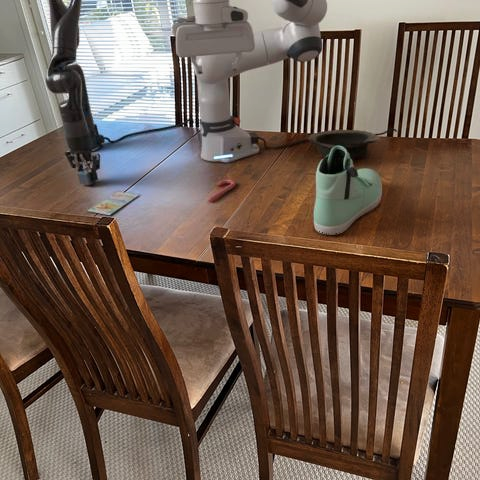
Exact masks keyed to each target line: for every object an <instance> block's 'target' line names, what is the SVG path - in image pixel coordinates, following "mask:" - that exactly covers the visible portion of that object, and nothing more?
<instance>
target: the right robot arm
mask: <svg viewBox="0 0 480 480" xmlns="http://www.w3.org/2000/svg"><path fill="white" fill-rule="evenodd" d="M192 2H193V12H194V15H193V16H192V15H191V16H186V17H182V16H181V17H177V18H176V19H174V20H173V21H172V23H171V31H172V35H173V37H174V38H175V52H176V53H175V54H176V55H177V56H178V57H179V58H181V59H182V58H190V62H191V63H192V64H193V72H194V75H195V76H196V80H197V81H196V83H197V84H196V85H197V98H198V99H197V100H198V108H199V117H200V119H199V131H200V135H201V148H200V149H201V151H200V158H201V159H202V160H204V161H208V162H221V163H231V162H235V161H237V160H240V159H243V158H246V157H249V156H252V155H255V154H258V153H260V147H259V145H257V144H259V142H260V140H261V141H262V142H263V146H264V148H265V149H267V150H272V149H273V150H274V149H275V150H276V149H283V148H285V147H291V146H295V145H297V144H300V143H303V142H309V141H308V138H305V139H301V140H298V141H294V142H292V143H288V144H283V145H280V146H276V147H268V146H267V142H266V139H264V138H263V137H261V136H258V134H257V133H256V131H255V132H247V131H246V130H244V129H243V128H241V127H240V126H238V125H240V124H241V119H240V118H238V117H235V116H233V115H231V103H230V91H229V79H230V78H233V77H235V76H238V75H240V74H243V73H245V72H248V71H251V70H256V69H259V68H263V67H266V66H271V65H273V64H276V63H277V64H278V62H279V63H280V62H282V61H284V60H286V59H291V60H293V61H296V62H299V63H305V62H310V61H312V60H314V59H316V58H318V57H319V56H320V54H321V53H322V52H323V39H322V37H321V28H320V23H321V22H322V21H323V20H324V18H325V17H326V14H327V11H328V2H327V0H271V5H272V9H273V12H274V13H275V14H276V15H277V16H278V17H279V18H281V23H282V24H281V26H282V27H275V28H269V29H264V30H261V31H256V32H254V30H253V27H252V25H251V23H250V22H249V21H248V19H249V13H248V11H247V10H246V9H243V8H240V7H238V6H232V5H231V4H230V0H193V1H192ZM391 131H394V132H397V133H398V130H397V129H396V128H389V129H387V130H385V131H383V132H380V133H374V134H375V135H377V136H382V135H385V134H387V133H389V132H391Z"/></svg>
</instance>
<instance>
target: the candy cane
mask: <svg viewBox="0 0 480 480" xmlns="http://www.w3.org/2000/svg"><path fill="white" fill-rule="evenodd" d="M225 184H229V185H227V186H225V187H223V188H222V189H220V190H219V191H218V192H215V193H214V194H213V195H211V196H210V197H208V199H207V201H208V202H209V203H212V202H213V201H215V200H217V199H218V198H220V197H221V196H222V195H224V194H226V193H227V192H228V191H230V190H232V189H233V188H235V186H236V181H235V180H233V179H228V178H227V179H221V180H219V181H218V182H217V183H216V185H217V187H221V186H222V185H225Z"/></svg>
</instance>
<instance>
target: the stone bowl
mask: <svg viewBox="0 0 480 480" xmlns="http://www.w3.org/2000/svg"><path fill="white" fill-rule="evenodd" d="M375 134H376V133H372V132H369V131H367V130H359V129H335V130H331V129H330V130H324V131H319V132H314V133H312V134H310V135H308V138H307V139H308V141H307V142H310V143H313V144H314V145H315V144H316V150H317V152H318V153H319V155H320V156H321V157H323V158H325V157H326V156H327V155H329V154H330V152H331V149H332V148H333V147H334V146H342V147H344V148H345V149H346V150H347V152H348V153H349V156H350V159H352V161H353V162H354V160H355V159H365V158H366V156H367V153H368V147H369V144H370V145H371V144H373V143H375V142H377V141H378V140H380V136H379V135H375Z"/></svg>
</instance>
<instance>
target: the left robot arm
mask: <svg viewBox="0 0 480 480" xmlns="http://www.w3.org/2000/svg"><path fill="white" fill-rule="evenodd" d="M82 2H83V0H70V3H69V5H68V7H67V5H66V4H65V3H64V1H63V0H48V7H49V20H50V22H49V23H50V37H51V43H52V47H51V48H52V53H51V57H50V60H49V62H48V66H47V70H46V72H45V84H46V88H47V89H48V90H49V92H50V93H53V94H56V95H57V94H59V95H60V94H68V95H67V97H68V98H67V99H65V100H62V101H61V102H59V103H58V110H59V114H60V118H61V123H62V130H63V133H64V137H65V140H66V143H67V148H68V149H69V150H67V151H65V152H64V155H65V157H66V159H67V161H68V163H69V165H70V167H71V169H75V170H76V171H77V172H79V171H81V170H82V169H84V167H85V168H86V167H87V168H88V170H89V174H90V178H91V182H94V183H95V182H97V181H98V180H97V176H98V174H97V175H96V172H97V171H98V170H100V169H101V154H100V153H99V152H97V153H95V152H96V151H97V150H99V149H100V148H102V144H105V143H106V142H105V140H106V141H108V143H110V144H115V143H118V142H120V141H122V140H124V139H126V138H129V137H132V136H136V135H137V136H138V135H141V134H146V133H151V132H159V131H165V130H169V129H175V128H178V127H182V126H184V125H186V124H187V123H188V122H191V123H194V122H195V121H194V120H193V119H192V118H188V119H186V120H184V121H183V122H181V123H177V124H174V125H167V126H165V127H158V128H151V129H145V130H140V131H136V132H131V133H127V134H125V135H122V136H120V137H119V138H118V139H116V140H111V138H109V137H108V136H104V134H100V133H99V129H98V125H97V123H95V121H94V116H93V113H92V108H91V104H90V99H89V93H88V89H87V84H86V77H85V73H84V70H83V68H82V67H81V65H80V64H78V63H76V61H77V52H78V51H77V50H78V49H79V45H80V41H81V40H80V25H79V24H80V19H81V18H80V17H81V11H82Z"/></svg>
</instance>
